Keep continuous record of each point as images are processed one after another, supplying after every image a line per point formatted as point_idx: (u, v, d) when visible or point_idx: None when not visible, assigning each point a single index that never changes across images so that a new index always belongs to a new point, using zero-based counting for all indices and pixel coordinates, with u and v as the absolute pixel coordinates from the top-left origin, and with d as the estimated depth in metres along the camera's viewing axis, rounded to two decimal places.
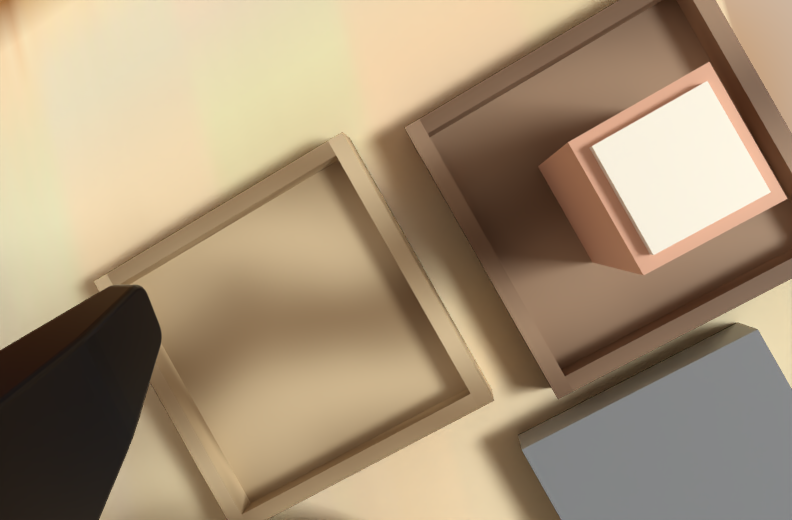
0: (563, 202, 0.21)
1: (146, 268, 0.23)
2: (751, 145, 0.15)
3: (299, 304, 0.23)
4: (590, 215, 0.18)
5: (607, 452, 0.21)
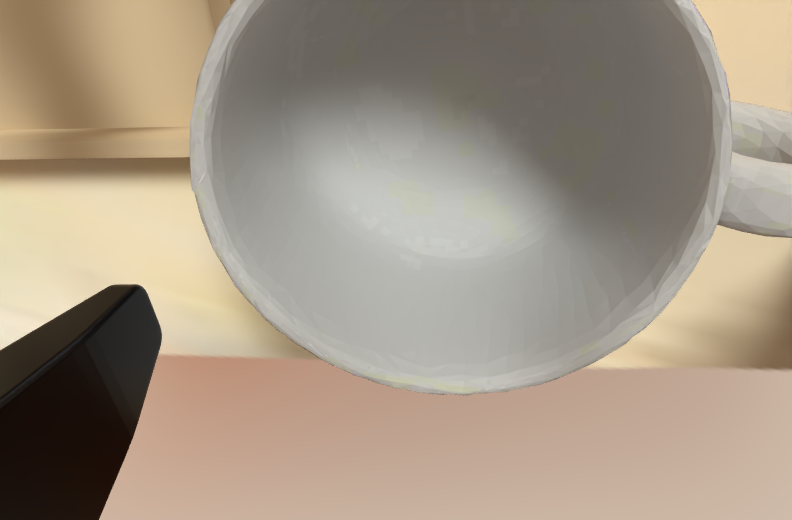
0: None
1: None
2: None
3: None
4: None
5: None
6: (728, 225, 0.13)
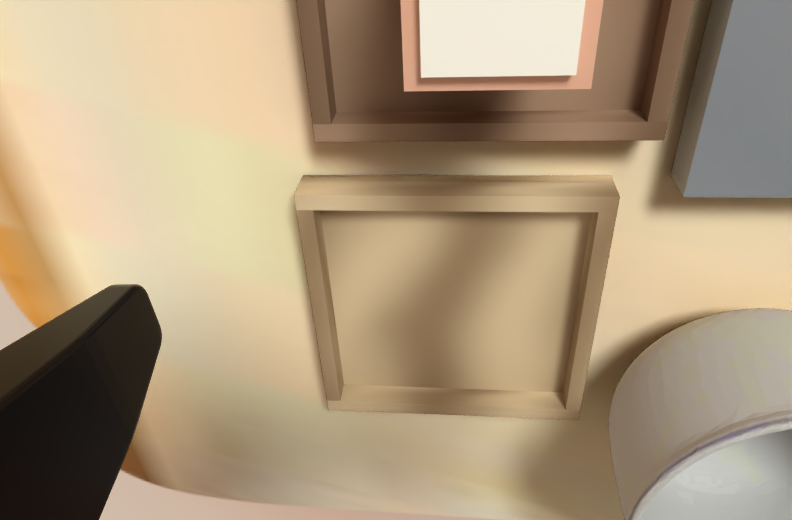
0: None
1: (337, 376, 0.26)
2: None
3: (428, 288, 0.24)
4: None
5: (752, 122, 0.18)
6: None
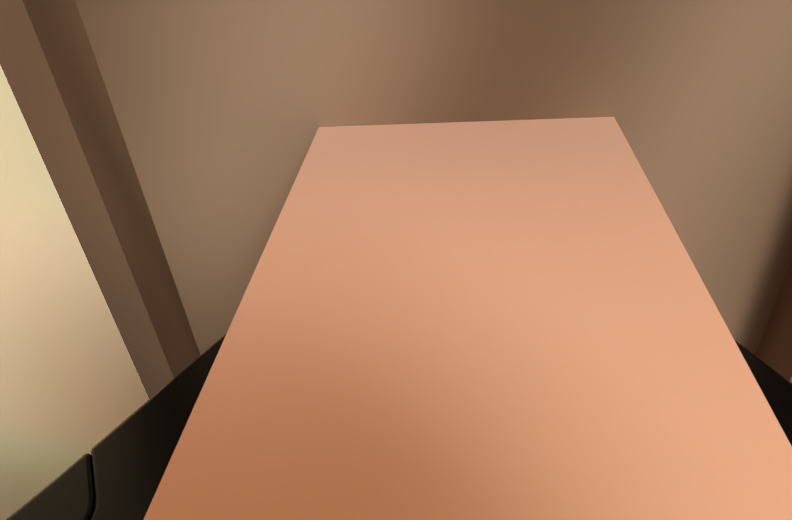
0: None
1: None
2: None
3: None
4: None
5: None
6: None
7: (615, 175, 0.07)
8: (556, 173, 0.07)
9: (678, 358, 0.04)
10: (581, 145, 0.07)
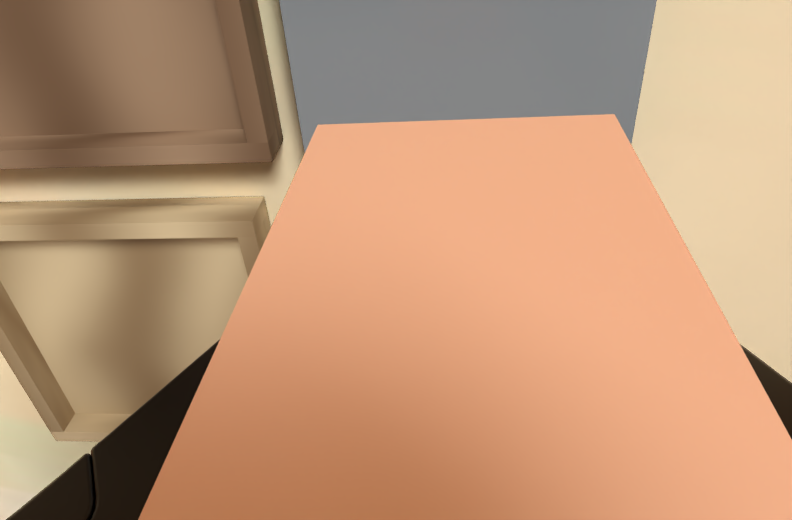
0: None
1: (50, 408, 0.25)
2: None
3: (119, 316, 0.23)
4: None
5: None
6: None
7: (616, 172, 0.07)
8: (556, 171, 0.07)
9: (679, 356, 0.04)
10: (581, 142, 0.07)
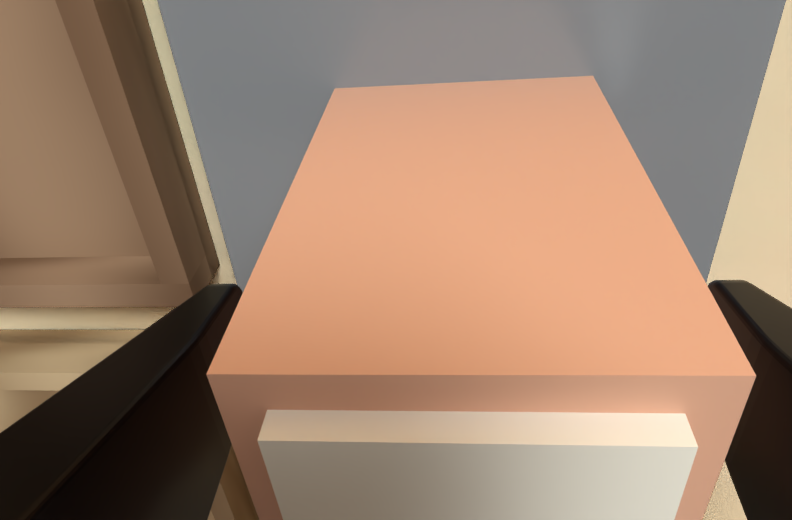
0: None
1: None
2: (520, 382, 0.05)
3: None
4: None
5: None
6: None
7: (591, 119, 0.08)
8: (541, 119, 0.08)
9: (631, 242, 0.06)
10: (563, 97, 0.09)
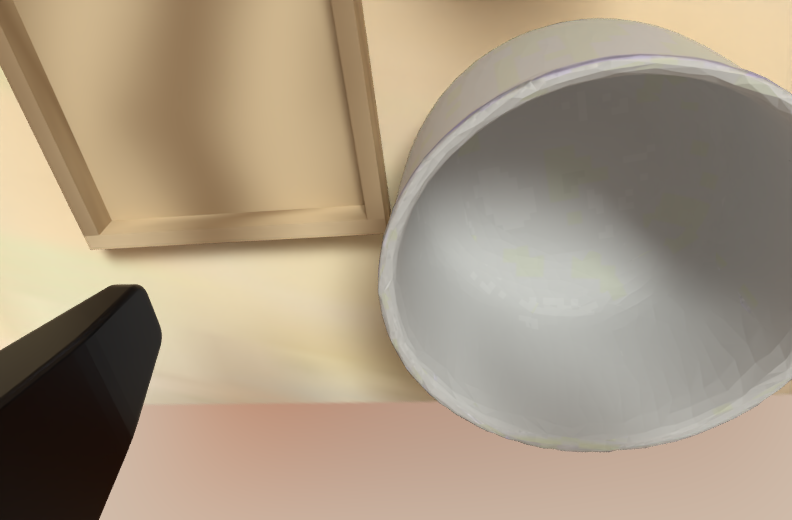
0: None
1: (83, 199, 0.21)
2: None
3: (161, 59, 0.19)
4: None
5: None
6: None
7: None
8: None
9: None
10: None
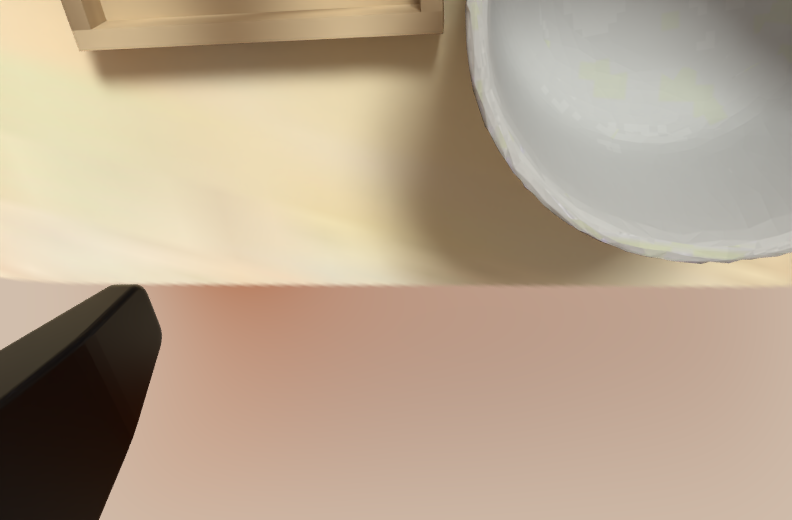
0: None
1: None
2: None
3: None
4: None
5: None
6: None
7: None
8: None
9: None
10: None
